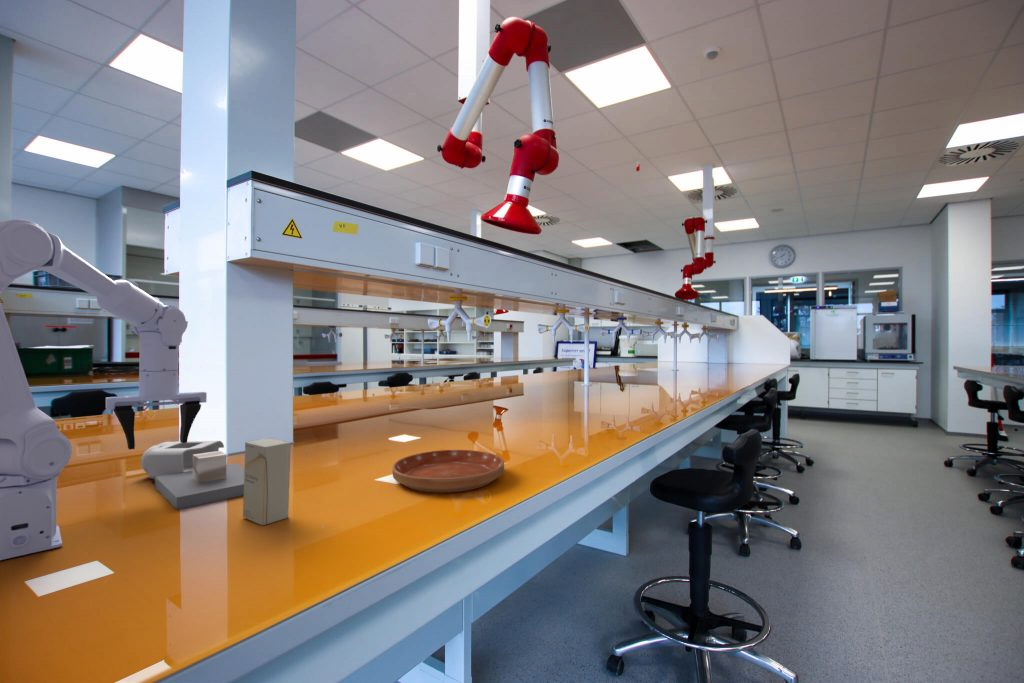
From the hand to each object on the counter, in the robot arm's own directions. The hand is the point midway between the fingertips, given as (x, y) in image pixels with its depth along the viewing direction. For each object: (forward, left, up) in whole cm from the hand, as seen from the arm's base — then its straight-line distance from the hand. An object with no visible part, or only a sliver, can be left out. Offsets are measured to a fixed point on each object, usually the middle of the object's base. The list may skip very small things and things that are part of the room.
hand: (158, 445), depth 84 cm
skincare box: (-26, -10, -10) cm, 29 cm away
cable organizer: (+14, -7, -10) cm, 18 cm away
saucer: (-30, -44, -10) cm, 54 cm away
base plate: (-2, -8, -9) cm, 12 cm away
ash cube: (-1, -8, -7) cm, 11 cm away
